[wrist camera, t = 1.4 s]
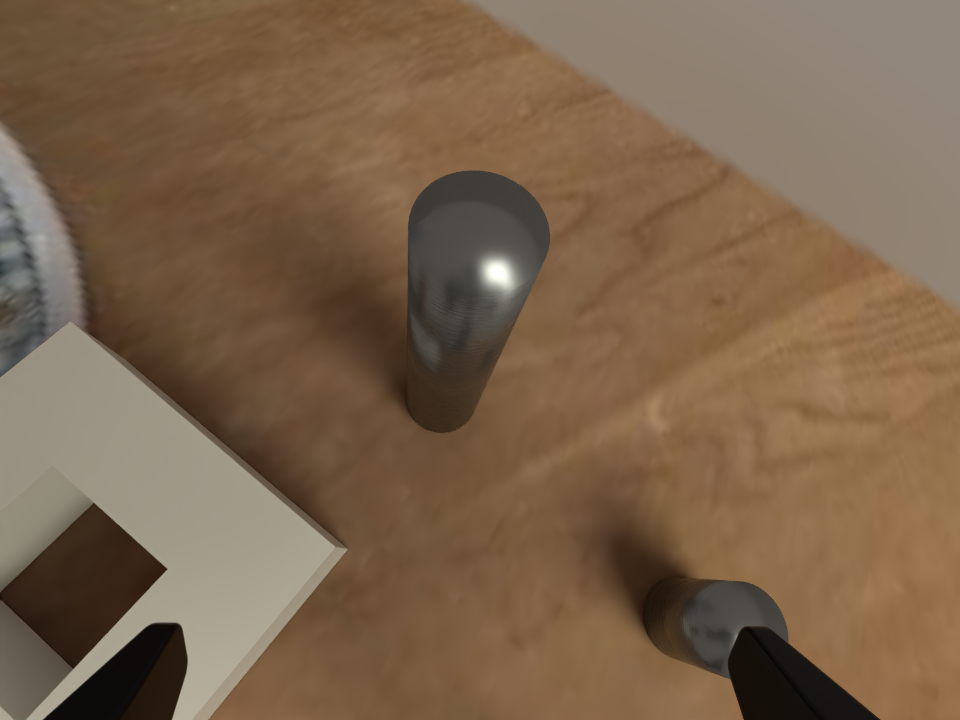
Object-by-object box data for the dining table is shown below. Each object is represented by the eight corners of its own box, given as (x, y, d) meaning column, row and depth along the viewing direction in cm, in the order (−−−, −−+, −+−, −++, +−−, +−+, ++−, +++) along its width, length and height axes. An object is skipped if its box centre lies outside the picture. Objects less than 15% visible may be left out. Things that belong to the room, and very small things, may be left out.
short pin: (727, 609, 22) (802, 621, 18) (692, 677, 21) (764, 706, 17) (666, 561, 22) (726, 562, 18) (629, 625, 21) (683, 642, 17)
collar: (347, 549, 21) (335, 546, 17) (82, 872, 17) (-10, 962, 13) (126, 360, 22) (70, 320, 19) (-170, 617, 18) (-318, 632, 15)
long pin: (489, 394, 24) (576, 225, 12) (446, 447, 23) (493, 321, 11) (436, 352, 24) (467, 147, 12) (392, 403, 23) (378, 233, 11)
